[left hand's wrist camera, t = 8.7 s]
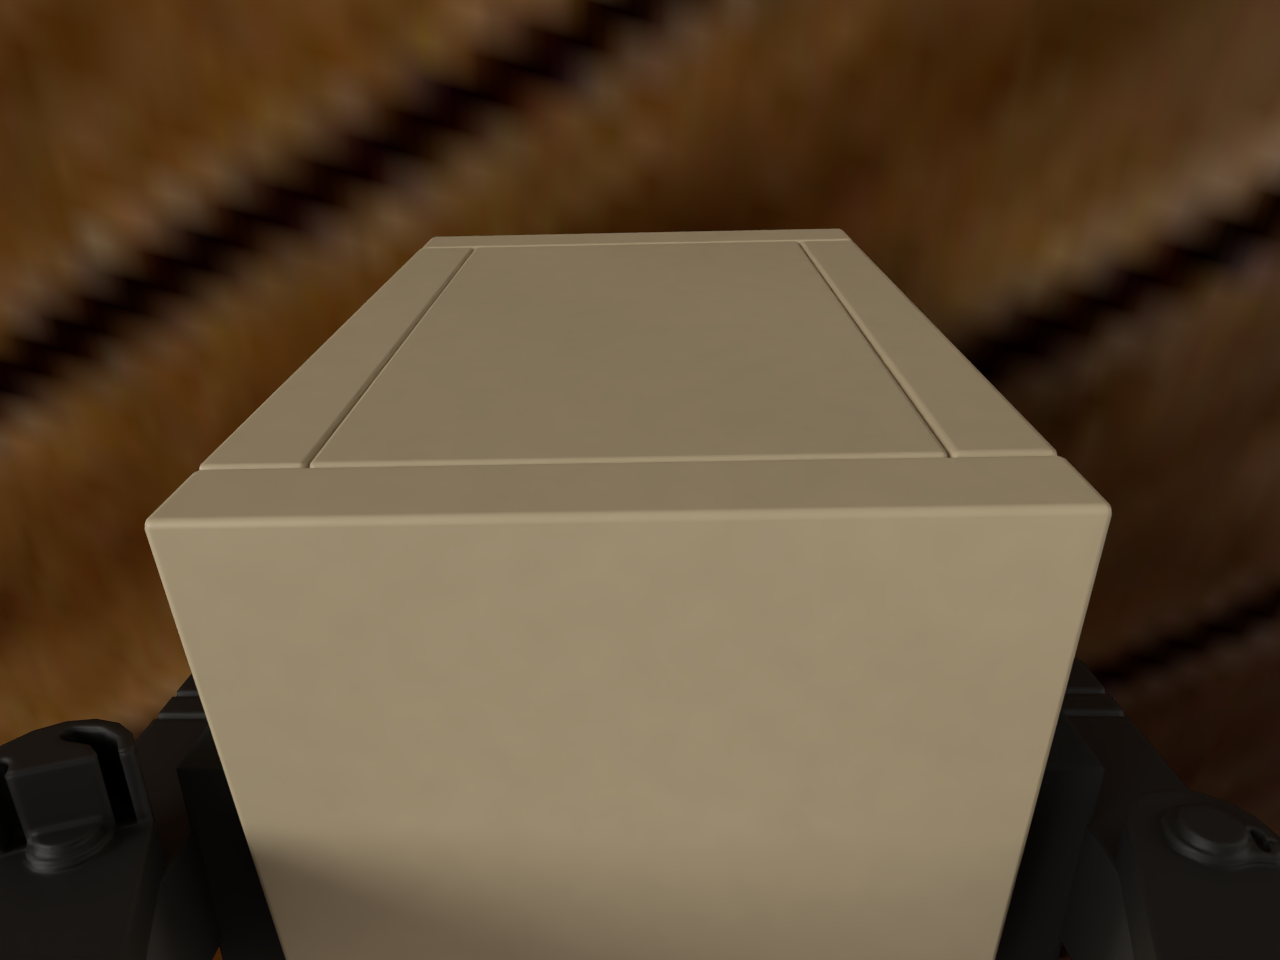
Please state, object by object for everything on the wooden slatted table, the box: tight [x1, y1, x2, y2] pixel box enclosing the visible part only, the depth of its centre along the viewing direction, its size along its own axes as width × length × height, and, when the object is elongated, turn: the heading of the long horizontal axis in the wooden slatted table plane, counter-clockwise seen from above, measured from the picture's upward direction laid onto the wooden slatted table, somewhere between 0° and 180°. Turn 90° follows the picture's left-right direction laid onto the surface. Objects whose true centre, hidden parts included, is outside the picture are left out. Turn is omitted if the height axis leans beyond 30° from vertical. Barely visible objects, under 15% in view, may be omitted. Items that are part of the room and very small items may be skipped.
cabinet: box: [145, 229, 1112, 960], centre depth 15 cm, size 22×7×9 cm, turn 1°
